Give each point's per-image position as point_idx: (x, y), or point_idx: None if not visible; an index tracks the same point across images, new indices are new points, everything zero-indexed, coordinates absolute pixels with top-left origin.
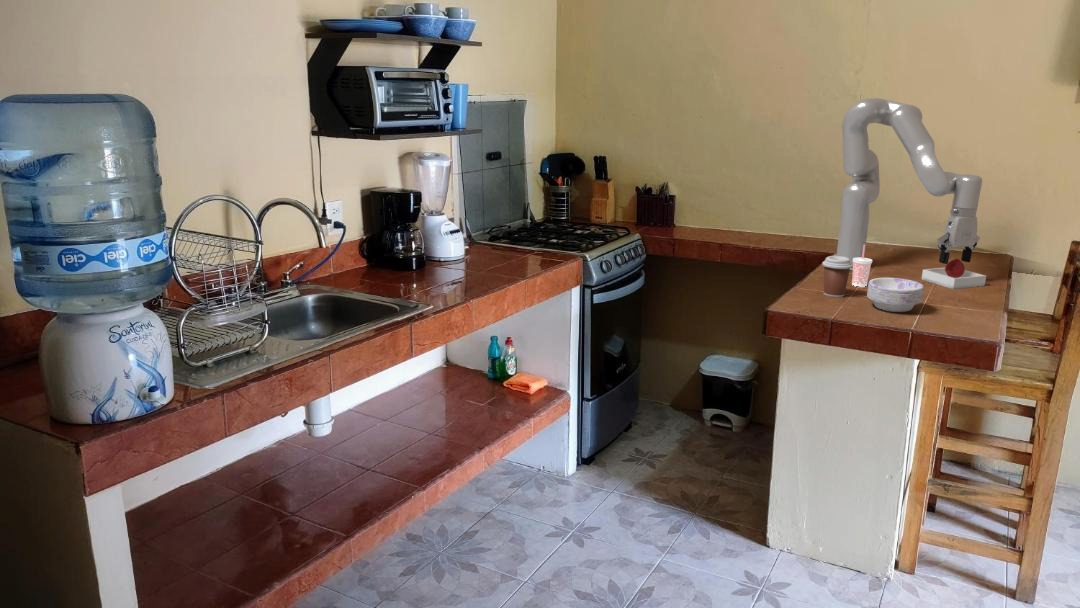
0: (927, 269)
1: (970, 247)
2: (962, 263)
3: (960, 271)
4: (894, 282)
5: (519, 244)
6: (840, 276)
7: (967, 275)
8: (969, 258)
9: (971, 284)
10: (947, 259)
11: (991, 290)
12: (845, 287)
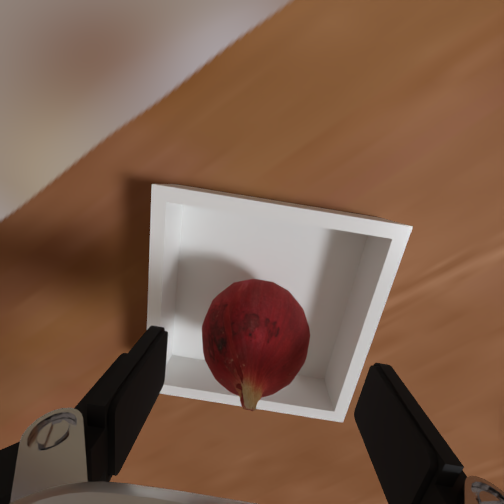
0: (322, 413)
1: (79, 466)
2: (233, 330)
3: (274, 287)
4: None
5: None
6: None
7: (170, 290)
8: (149, 345)
9: (265, 199)
10: (406, 393)
11: (224, 104)
12: None
